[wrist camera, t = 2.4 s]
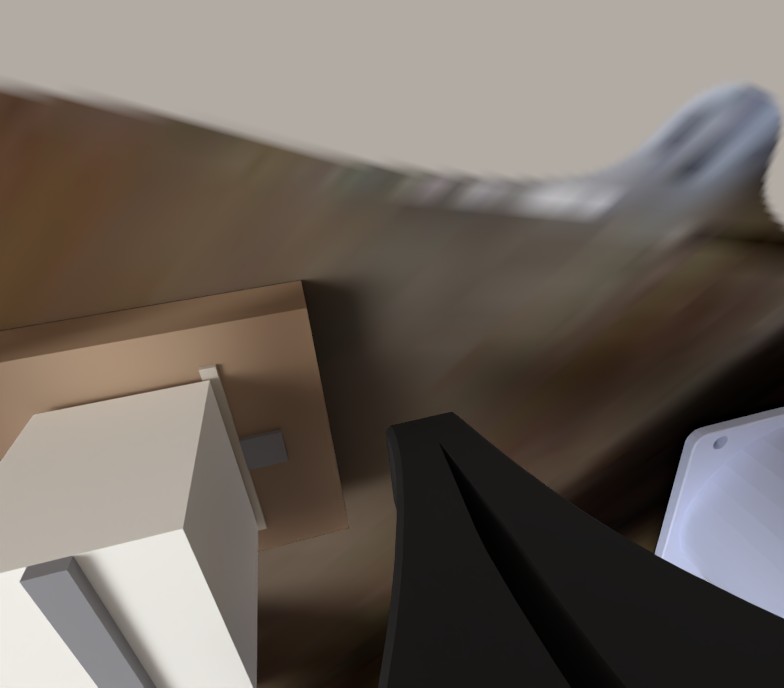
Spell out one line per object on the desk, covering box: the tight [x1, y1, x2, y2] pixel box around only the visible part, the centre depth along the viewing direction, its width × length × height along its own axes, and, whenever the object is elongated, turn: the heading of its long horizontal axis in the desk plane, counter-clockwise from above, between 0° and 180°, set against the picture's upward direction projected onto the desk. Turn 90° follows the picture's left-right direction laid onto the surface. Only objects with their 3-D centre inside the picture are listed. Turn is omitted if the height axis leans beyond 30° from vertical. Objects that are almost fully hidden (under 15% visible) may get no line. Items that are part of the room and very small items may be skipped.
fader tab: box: [0, 380, 258, 688], centre depth 8 cm, size 3×4×4 cm
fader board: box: [0, 280, 349, 552], centre depth 10 cm, size 13×6×2 cm, turn 95°
